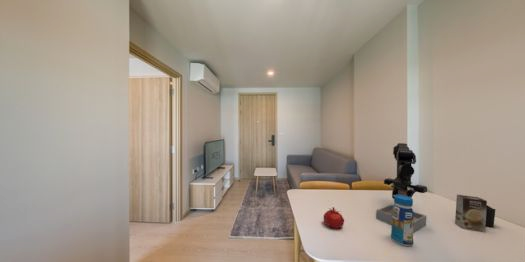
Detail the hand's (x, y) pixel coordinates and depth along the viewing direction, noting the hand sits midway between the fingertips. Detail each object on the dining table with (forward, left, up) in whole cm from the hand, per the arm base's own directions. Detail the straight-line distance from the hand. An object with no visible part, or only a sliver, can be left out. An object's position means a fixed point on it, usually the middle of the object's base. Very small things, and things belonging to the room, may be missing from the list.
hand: (403, 200), depth 104 cm
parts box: (+3, 0, -11) cm, 12 cm away
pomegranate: (+40, -15, -12) cm, 44 cm away
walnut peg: (0, 0, -3) cm, 3 cm away
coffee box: (-24, +21, -12) cm, 34 cm away
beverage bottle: (+24, +9, -12) cm, 28 cm away
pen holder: (-37, +23, -12) cm, 45 cm away
